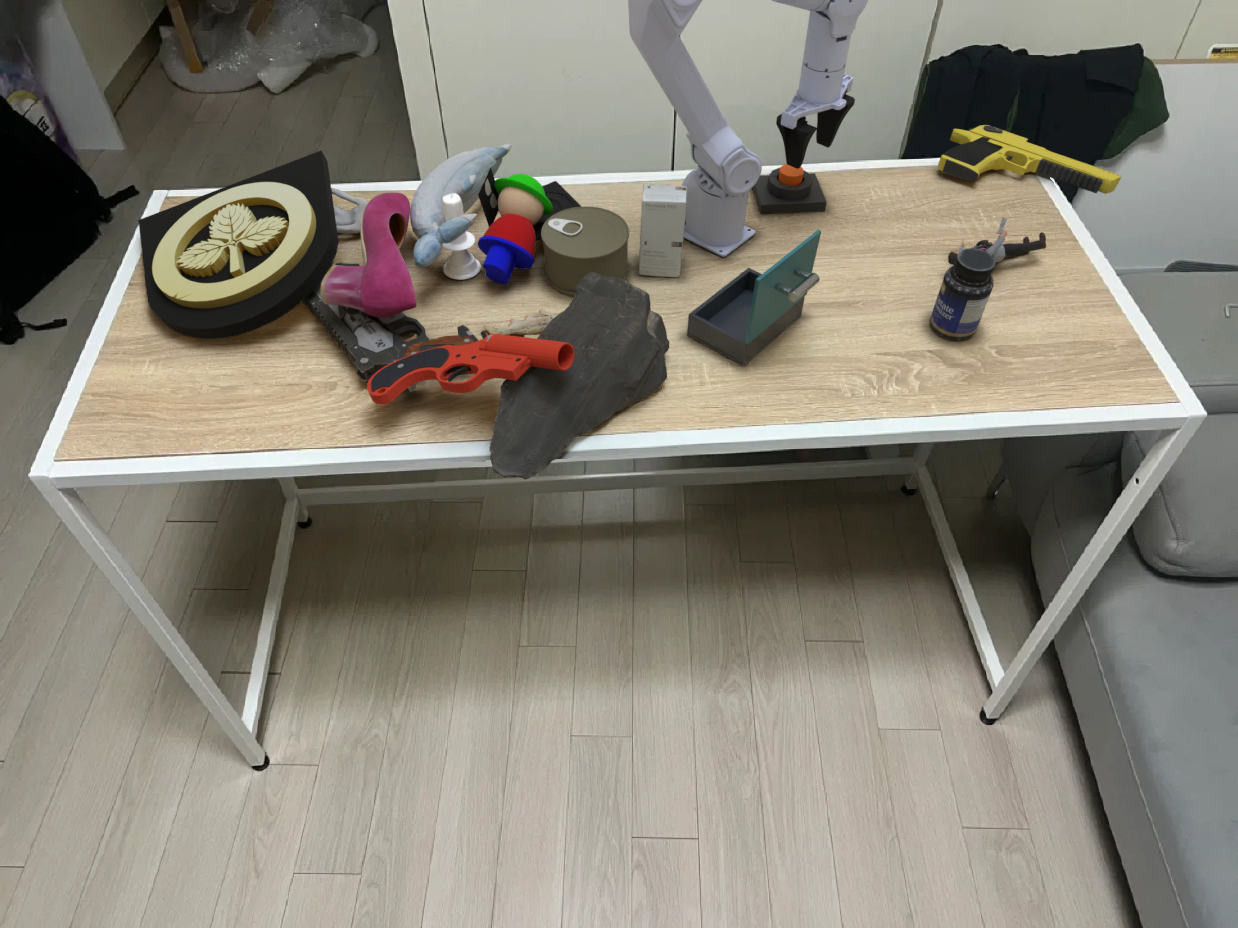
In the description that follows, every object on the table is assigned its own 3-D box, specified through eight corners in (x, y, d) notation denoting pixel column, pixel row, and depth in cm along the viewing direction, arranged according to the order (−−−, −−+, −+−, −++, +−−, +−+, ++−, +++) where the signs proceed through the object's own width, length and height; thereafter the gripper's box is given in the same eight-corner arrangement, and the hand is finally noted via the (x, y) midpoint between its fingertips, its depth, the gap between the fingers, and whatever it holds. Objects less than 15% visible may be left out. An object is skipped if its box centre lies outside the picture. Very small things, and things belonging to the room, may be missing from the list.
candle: (455, 253, 135) (443, 179, 126) (487, 262, 133) (478, 188, 124) (436, 274, 131) (422, 200, 122) (469, 284, 130) (458, 209, 121)
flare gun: (361, 406, 111) (440, 337, 119) (505, 435, 98) (582, 355, 107) (350, 385, 109) (431, 316, 118) (495, 411, 96) (574, 332, 105)
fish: (567, 301, 125) (577, 329, 122) (567, 310, 126) (578, 337, 124) (481, 320, 123) (490, 348, 120) (483, 328, 124) (491, 357, 122)
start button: (780, 187, 141) (782, 176, 140) (776, 174, 143) (777, 163, 142) (804, 186, 141) (806, 175, 140) (799, 173, 143) (800, 162, 142)
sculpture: (537, 212, 120) (525, 157, 141) (500, 165, 116) (494, 115, 137) (429, 291, 124) (433, 226, 145) (390, 248, 120) (400, 187, 141)
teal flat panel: (755, 278, 109) (781, 292, 107) (818, 229, 115) (843, 241, 114) (744, 342, 116) (768, 356, 115) (804, 292, 123) (827, 305, 121)
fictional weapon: (389, 261, 135) (290, 296, 128) (386, 239, 132) (284, 274, 126) (490, 367, 120) (384, 412, 113) (488, 345, 117) (379, 390, 111)
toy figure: (464, 276, 132) (501, 184, 135) (527, 297, 132) (563, 204, 135) (455, 249, 123) (495, 151, 126) (522, 271, 123) (560, 173, 126)
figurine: (263, 247, 140) (392, 254, 139) (245, 235, 135) (380, 243, 133) (269, 183, 141) (398, 190, 139) (252, 169, 135) (386, 176, 134)
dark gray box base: (686, 335, 123) (688, 314, 120) (745, 288, 130) (748, 267, 127) (743, 366, 119) (746, 345, 116) (801, 316, 126) (805, 295, 123)
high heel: (386, 177, 132) (470, 186, 131) (393, 234, 137) (474, 243, 136) (309, 258, 112) (408, 270, 111) (321, 321, 118) (415, 333, 116)
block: (760, 214, 142) (762, 194, 139) (750, 185, 147) (753, 165, 144) (825, 211, 142) (828, 190, 139) (813, 182, 147) (817, 162, 145)
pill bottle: (920, 317, 125) (941, 249, 117) (960, 308, 127) (984, 240, 118) (944, 346, 122) (967, 277, 113) (985, 337, 123) (1011, 268, 115)
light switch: (496, 206, 136) (555, 179, 139) (501, 228, 140) (559, 202, 142) (528, 241, 131) (589, 213, 133) (533, 264, 134) (592, 236, 137)
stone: (568, 286, 122) (431, 450, 108) (611, 247, 112) (465, 423, 98) (655, 368, 126) (533, 537, 112) (705, 338, 115) (576, 520, 101)
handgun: (1097, 209, 137) (1126, 167, 145) (930, 149, 146) (966, 112, 155) (1087, 229, 139) (1117, 186, 148) (924, 169, 149) (960, 132, 157)
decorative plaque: (132, 354, 117) (128, 206, 134) (152, 374, 121) (146, 228, 138) (343, 274, 118) (314, 137, 134) (358, 297, 121) (327, 161, 138)
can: (605, 308, 127) (604, 266, 122) (528, 284, 130) (524, 242, 125) (642, 260, 134) (643, 219, 129) (568, 238, 137) (566, 197, 132)
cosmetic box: (638, 276, 131) (639, 201, 122) (639, 257, 134) (641, 182, 125) (681, 278, 131) (686, 203, 122) (682, 259, 134) (687, 184, 125)
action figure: (1055, 208, 129) (966, 222, 124) (1062, 257, 129) (974, 273, 125) (1008, 222, 137) (923, 237, 133) (1015, 269, 138) (931, 284, 134)
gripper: (818, 91, 119) (802, 185, 129) (878, 52, 126) (859, 144, 137) (773, 74, 122) (761, 167, 133) (835, 37, 130) (819, 128, 140)
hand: (808, 154), depth 135 cm, fingers open, 7 cm apart
